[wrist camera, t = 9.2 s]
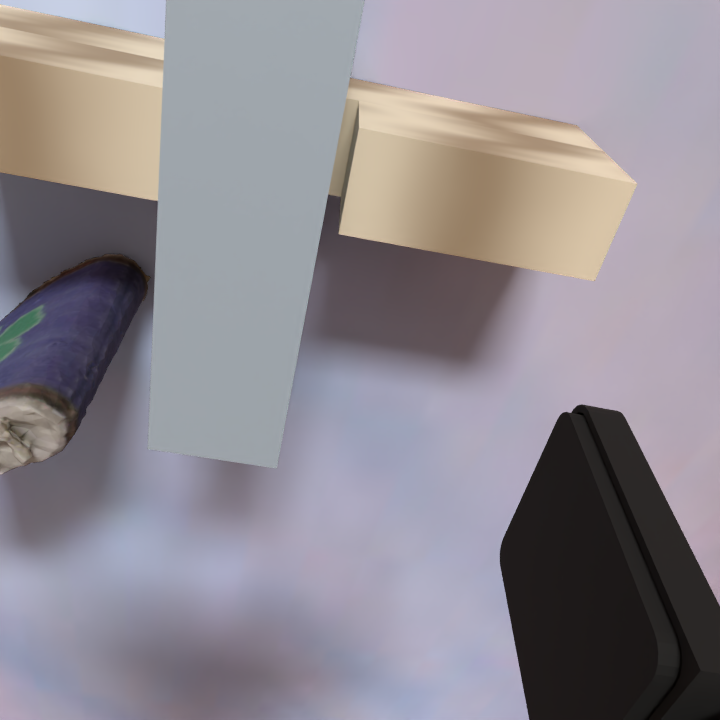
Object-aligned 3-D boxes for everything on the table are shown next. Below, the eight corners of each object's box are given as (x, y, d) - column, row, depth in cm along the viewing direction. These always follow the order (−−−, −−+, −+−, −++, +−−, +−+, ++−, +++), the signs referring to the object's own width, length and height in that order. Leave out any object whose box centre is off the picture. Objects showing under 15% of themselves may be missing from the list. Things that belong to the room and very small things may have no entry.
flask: (10, 393, 29) (-140, 600, 21) (-45, 346, 28) (-232, 547, 19) (166, 289, 27) (70, 477, 18) (112, 232, 25) (-21, 404, 16)
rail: (576, 125, 23) (637, 183, 18) (546, 206, 25) (594, 280, 20) (-28, -2, 21) (-148, 25, 16) (-17, 97, 22) (-123, 149, 17)
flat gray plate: (262, -67, 20) (168, -48, 10) (360, -43, 20) (365, -1, 10) (229, 238, 25) (147, 449, 15) (307, 253, 26) (276, 468, 16)
